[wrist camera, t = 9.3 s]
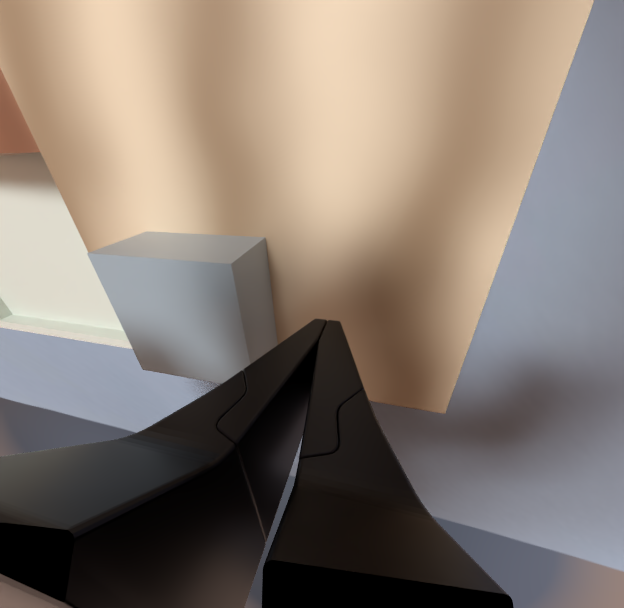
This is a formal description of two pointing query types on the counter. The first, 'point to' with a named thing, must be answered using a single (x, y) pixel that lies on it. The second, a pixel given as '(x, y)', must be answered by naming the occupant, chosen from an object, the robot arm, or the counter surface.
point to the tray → (47, 261)
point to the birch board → (308, 147)
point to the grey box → (191, 301)
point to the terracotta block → (13, 125)
